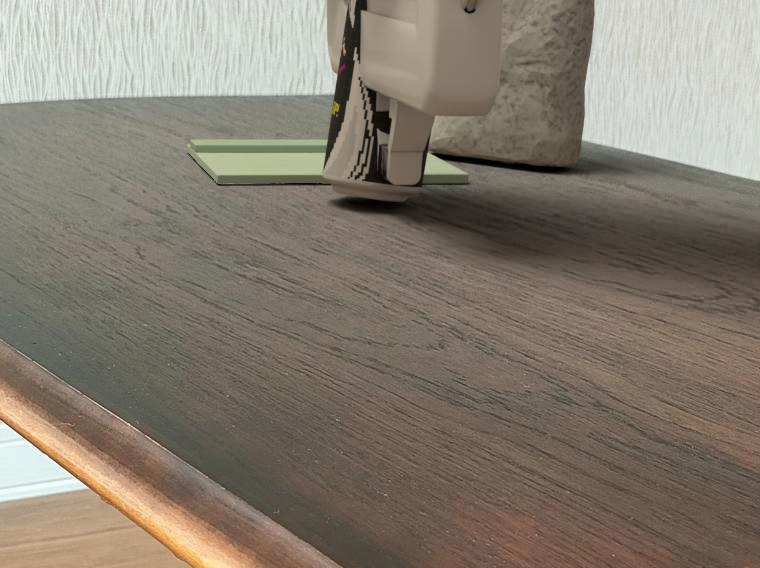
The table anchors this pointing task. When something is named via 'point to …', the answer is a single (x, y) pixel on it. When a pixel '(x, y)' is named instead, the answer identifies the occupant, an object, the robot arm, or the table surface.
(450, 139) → the decorative stone
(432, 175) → the green tray
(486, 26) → the robot arm
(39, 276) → the table surface
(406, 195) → the beverage can
